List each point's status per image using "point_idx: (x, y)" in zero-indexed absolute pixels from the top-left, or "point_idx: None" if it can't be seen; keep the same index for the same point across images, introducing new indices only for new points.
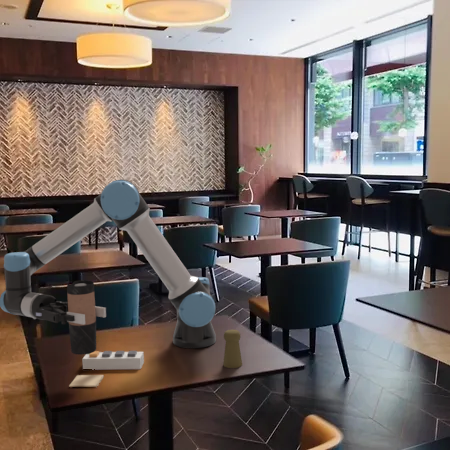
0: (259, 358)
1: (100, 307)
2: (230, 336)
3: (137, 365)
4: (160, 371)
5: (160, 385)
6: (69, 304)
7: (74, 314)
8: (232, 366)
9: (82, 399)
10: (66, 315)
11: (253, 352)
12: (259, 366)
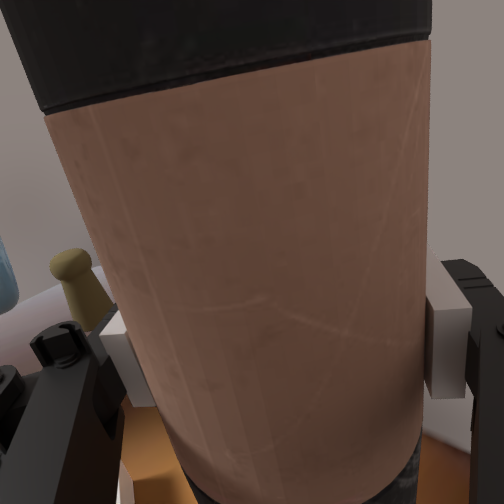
0: (63, 304)
1: None
2: (87, 255)
3: (128, 481)
4: (148, 411)
5: None
6: (427, 209)
7: (427, 249)
8: None
9: (465, 478)
10: (493, 305)
11: (24, 323)
12: (107, 289)
